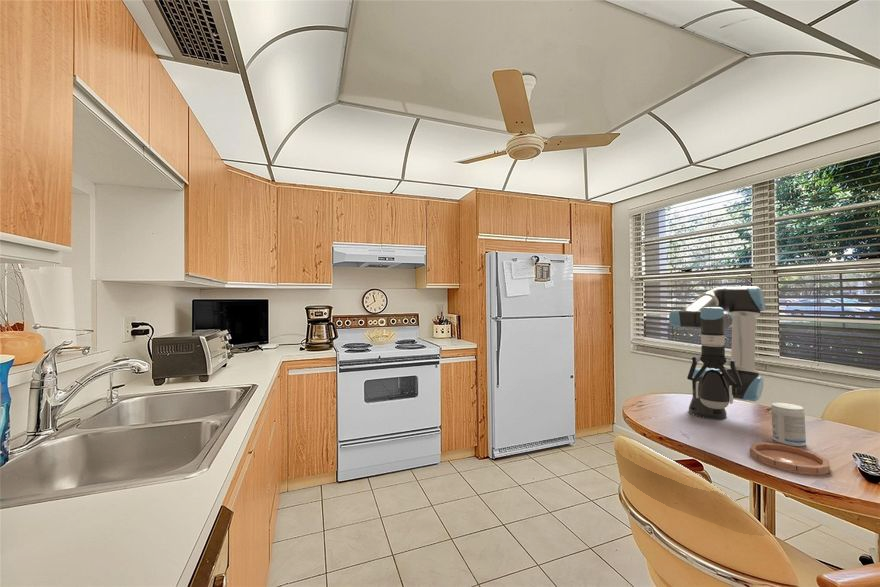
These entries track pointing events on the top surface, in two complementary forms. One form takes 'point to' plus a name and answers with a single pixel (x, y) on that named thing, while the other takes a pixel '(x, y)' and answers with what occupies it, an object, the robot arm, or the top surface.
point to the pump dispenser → (714, 390)
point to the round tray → (790, 458)
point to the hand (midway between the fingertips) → (714, 400)
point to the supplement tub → (788, 424)
